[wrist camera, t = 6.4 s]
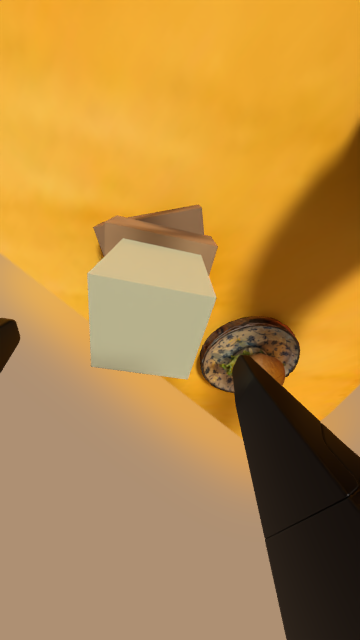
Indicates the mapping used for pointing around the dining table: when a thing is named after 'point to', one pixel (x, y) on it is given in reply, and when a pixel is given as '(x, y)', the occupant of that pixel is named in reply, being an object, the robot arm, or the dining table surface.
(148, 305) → the sage block
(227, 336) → the burger
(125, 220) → the walnut slab top
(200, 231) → the walnut slab low
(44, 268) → the dining table surface
